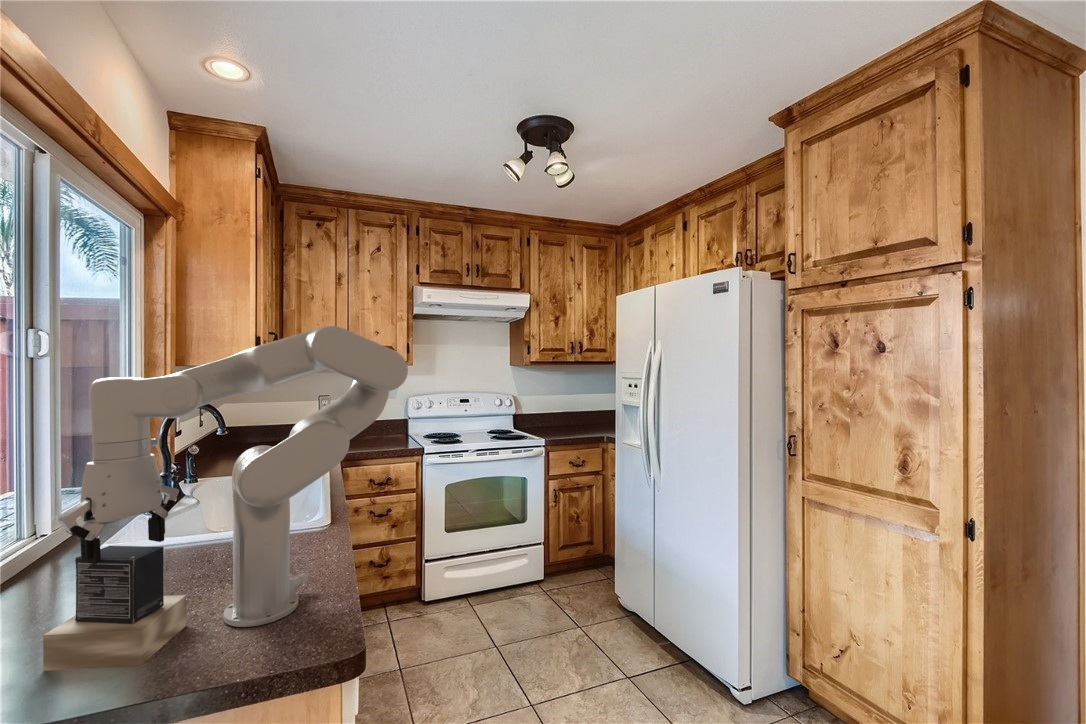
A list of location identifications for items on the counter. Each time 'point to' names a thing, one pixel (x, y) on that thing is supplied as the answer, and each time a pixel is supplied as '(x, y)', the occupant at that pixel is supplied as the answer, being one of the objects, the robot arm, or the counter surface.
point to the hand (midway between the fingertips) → (126, 551)
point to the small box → (120, 585)
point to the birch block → (113, 639)
